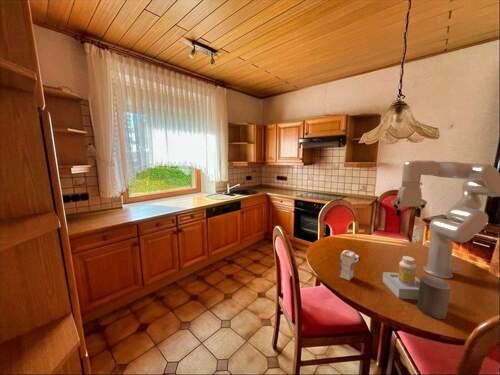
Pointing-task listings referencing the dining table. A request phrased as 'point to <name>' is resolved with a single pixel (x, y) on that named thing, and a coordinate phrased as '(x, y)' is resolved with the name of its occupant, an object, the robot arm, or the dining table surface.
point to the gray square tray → (401, 286)
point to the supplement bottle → (407, 271)
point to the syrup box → (347, 265)
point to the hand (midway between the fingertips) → (407, 216)
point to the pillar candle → (433, 296)
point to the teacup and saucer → (357, 258)
